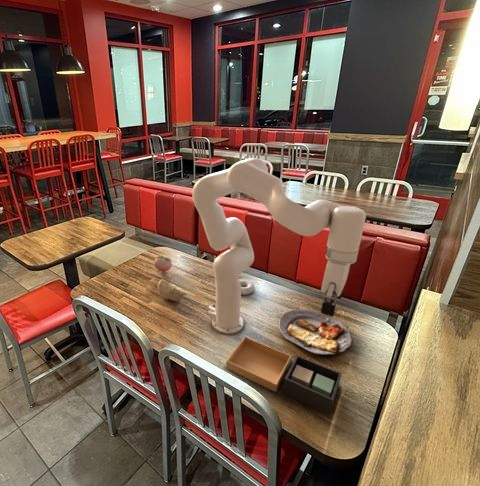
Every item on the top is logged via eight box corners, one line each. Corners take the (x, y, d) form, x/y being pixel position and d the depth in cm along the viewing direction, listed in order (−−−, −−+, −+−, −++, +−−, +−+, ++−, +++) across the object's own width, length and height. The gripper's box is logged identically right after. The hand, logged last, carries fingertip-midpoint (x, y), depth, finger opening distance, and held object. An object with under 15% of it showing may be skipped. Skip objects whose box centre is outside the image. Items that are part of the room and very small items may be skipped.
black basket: (282, 393, 94) (284, 378, 91) (294, 369, 102) (296, 354, 100) (329, 416, 87) (333, 400, 84) (338, 388, 95) (341, 373, 92)
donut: (232, 295, 142) (254, 296, 140) (232, 289, 140) (254, 290, 138) (233, 283, 151) (254, 284, 149) (233, 277, 149) (254, 278, 147)
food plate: (360, 333, 116) (362, 326, 114) (335, 370, 101) (337, 362, 100) (297, 306, 132) (297, 299, 131) (267, 334, 118) (268, 327, 116)
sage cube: (310, 396, 92) (312, 384, 90) (314, 385, 96) (316, 373, 94) (328, 405, 90) (330, 393, 88) (332, 392, 93) (334, 380, 91)
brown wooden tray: (226, 368, 104) (226, 361, 102) (244, 343, 114) (244, 336, 112) (275, 392, 95) (276, 385, 93) (290, 363, 105) (291, 355, 103)
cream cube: (289, 387, 96) (291, 375, 94) (295, 376, 99) (296, 364, 97) (306, 394, 93) (308, 383, 91) (311, 383, 97) (313, 371, 94)
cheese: (157, 293, 149) (149, 290, 135) (164, 279, 150) (157, 275, 136) (185, 308, 145) (179, 307, 131) (192, 294, 146) (187, 291, 132)
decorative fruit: (174, 268, 166) (173, 252, 162) (169, 276, 159) (168, 259, 155) (158, 266, 169) (157, 250, 165) (152, 274, 162) (151, 257, 158)
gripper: (333, 238, 91) (325, 287, 98) (318, 262, 78) (309, 317, 86) (362, 243, 87) (351, 294, 94) (350, 270, 74) (338, 326, 82)
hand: (331, 305), depth 90 cm, fingers open, 9 cm apart
